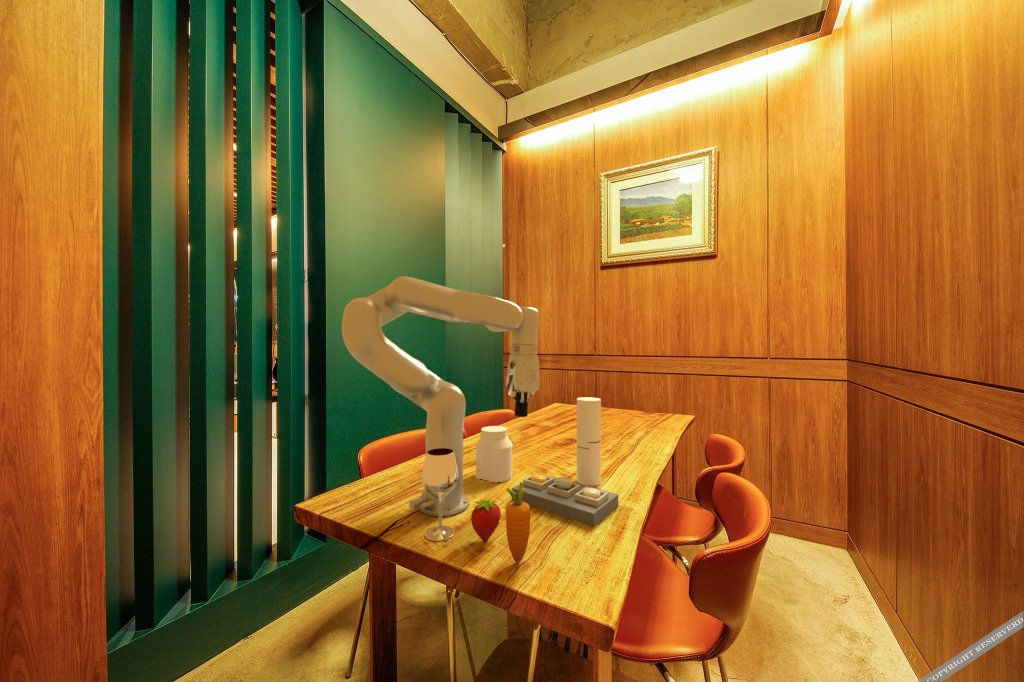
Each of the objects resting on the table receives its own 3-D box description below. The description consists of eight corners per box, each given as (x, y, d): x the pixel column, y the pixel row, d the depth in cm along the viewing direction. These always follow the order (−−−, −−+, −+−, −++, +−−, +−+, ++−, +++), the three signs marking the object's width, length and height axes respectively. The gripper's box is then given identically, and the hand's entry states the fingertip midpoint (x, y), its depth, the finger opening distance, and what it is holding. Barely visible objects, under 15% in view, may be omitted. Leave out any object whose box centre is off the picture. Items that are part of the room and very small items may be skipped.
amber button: (540, 486, 100) (540, 480, 100) (528, 483, 103) (528, 477, 103) (549, 482, 104) (549, 476, 104) (536, 478, 106) (536, 473, 106)
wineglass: (445, 521, 88) (445, 444, 88) (466, 533, 82) (466, 451, 82) (413, 533, 82) (414, 451, 82) (434, 548, 76) (434, 459, 76)
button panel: (593, 526, 85) (593, 507, 85) (511, 499, 100) (511, 482, 100) (618, 506, 96) (618, 489, 96) (540, 484, 111) (540, 469, 111)
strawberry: (506, 536, 81) (506, 490, 81) (489, 553, 74) (489, 503, 74) (483, 530, 84) (483, 485, 84) (464, 546, 77) (464, 497, 77)
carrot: (510, 573, 68) (511, 491, 68) (500, 559, 73) (501, 481, 73) (535, 567, 70) (535, 486, 70) (523, 553, 75) (524, 478, 75)
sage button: (566, 490, 95) (566, 484, 95) (552, 486, 98) (552, 480, 98) (574, 485, 99) (574, 479, 99) (561, 481, 101) (561, 475, 101)
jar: (517, 474, 119) (517, 427, 119) (503, 484, 111) (503, 434, 111) (485, 469, 124) (486, 424, 124) (470, 478, 116) (470, 430, 116)
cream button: (595, 502, 90) (595, 496, 90) (580, 498, 93) (580, 491, 93) (603, 497, 94) (603, 490, 94) (588, 493, 96) (588, 486, 96)
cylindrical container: (602, 485, 110) (603, 400, 110) (578, 485, 110) (578, 400, 110) (597, 477, 117) (598, 397, 117) (575, 476, 117) (575, 397, 117)
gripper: (517, 350, 98) (514, 421, 97) (549, 352, 109) (547, 415, 109) (496, 349, 103) (493, 417, 102) (529, 351, 114) (526, 411, 114)
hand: (521, 416), depth 105 cm, fingers closed
